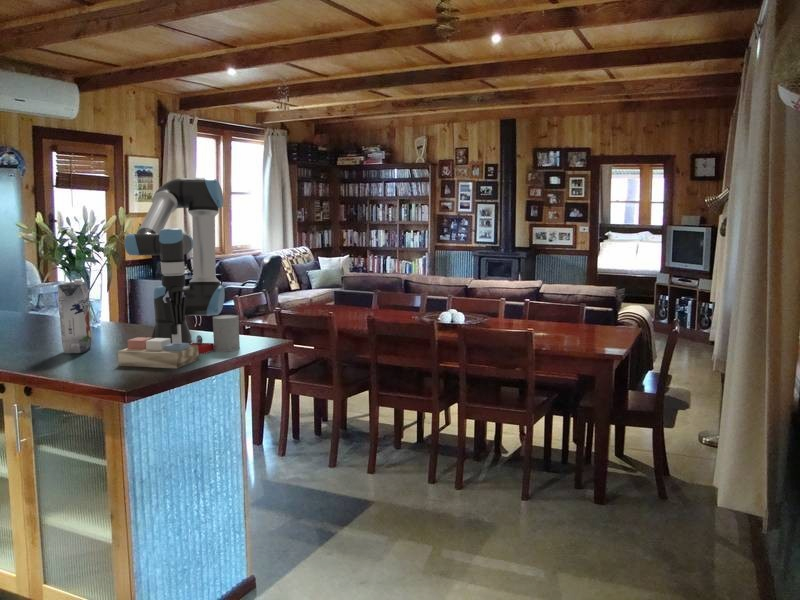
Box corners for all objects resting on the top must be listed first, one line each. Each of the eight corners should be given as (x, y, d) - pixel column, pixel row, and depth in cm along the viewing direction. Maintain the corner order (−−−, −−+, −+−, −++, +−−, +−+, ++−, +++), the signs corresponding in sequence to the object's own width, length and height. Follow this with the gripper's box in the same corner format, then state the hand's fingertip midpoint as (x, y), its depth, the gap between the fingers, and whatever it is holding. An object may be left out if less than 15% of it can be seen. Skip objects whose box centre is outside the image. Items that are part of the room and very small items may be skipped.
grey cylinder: (225, 345, 271) (223, 314, 270) (245, 347, 267) (243, 315, 265) (208, 350, 263) (206, 317, 261) (228, 352, 258) (227, 319, 257)
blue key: (174, 351, 244) (174, 342, 244) (189, 351, 243) (189, 343, 242) (165, 354, 238) (164, 345, 238) (180, 355, 237) (180, 346, 237)
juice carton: (60, 354, 258) (55, 281, 255) (69, 348, 268) (64, 278, 265) (86, 353, 260) (81, 280, 256) (93, 347, 270) (88, 277, 266)
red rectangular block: (213, 350, 264) (213, 333, 263) (205, 354, 257) (204, 337, 256) (194, 350, 265) (193, 333, 264) (185, 353, 259) (184, 336, 258)
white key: (156, 346, 245) (155, 337, 245) (170, 346, 244) (170, 338, 244) (146, 349, 240) (145, 340, 239) (161, 350, 238) (161, 341, 238)
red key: (137, 345, 247) (137, 337, 247) (152, 346, 246) (152, 337, 245) (127, 348, 241) (127, 340, 241) (142, 349, 240) (142, 340, 240)
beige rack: (143, 357, 252) (142, 343, 251) (198, 359, 247) (198, 345, 246) (118, 365, 238) (117, 351, 238) (177, 368, 233) (176, 353, 233)
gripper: (173, 272, 244) (177, 339, 247) (152, 276, 232) (156, 346, 235) (193, 272, 242) (196, 340, 245) (172, 276, 230) (176, 347, 233)
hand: (177, 343), depth 240 cm, fingers closed
